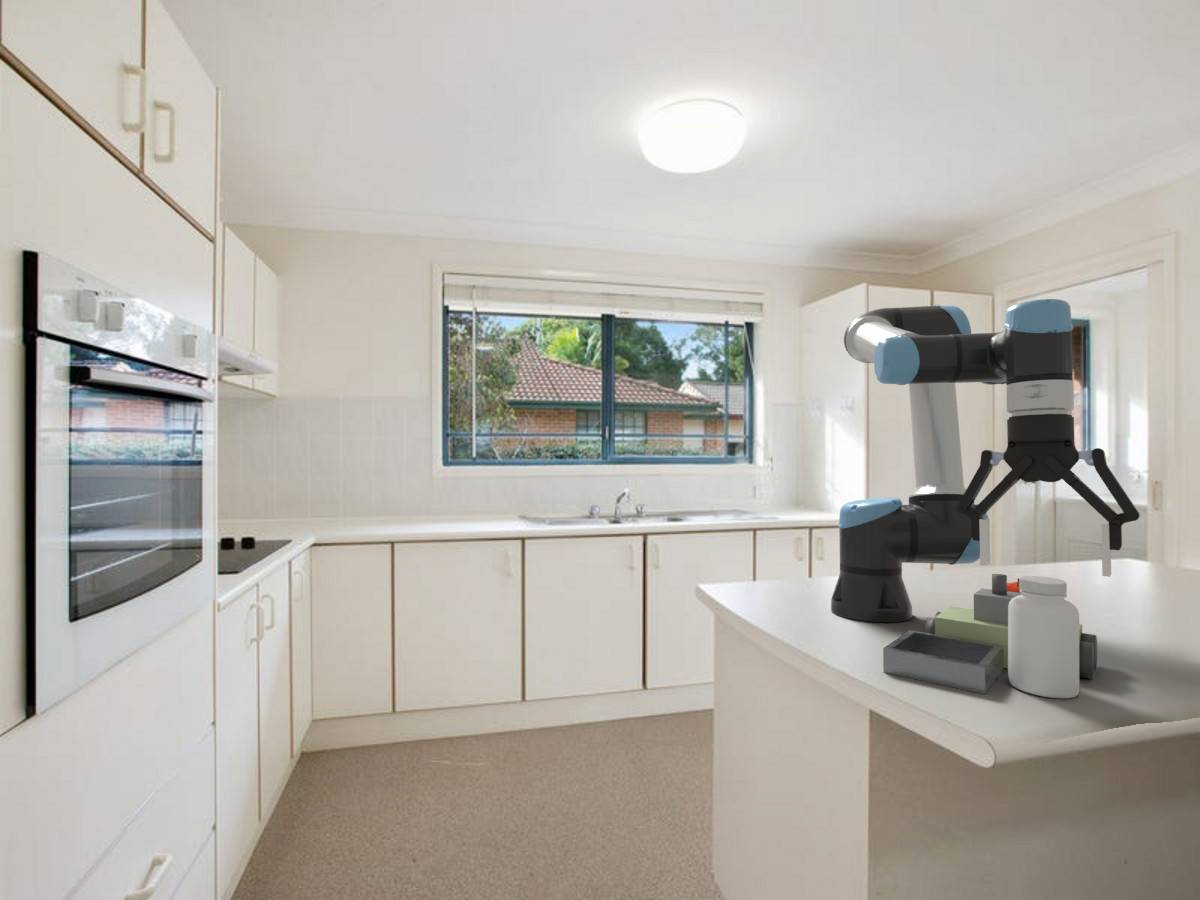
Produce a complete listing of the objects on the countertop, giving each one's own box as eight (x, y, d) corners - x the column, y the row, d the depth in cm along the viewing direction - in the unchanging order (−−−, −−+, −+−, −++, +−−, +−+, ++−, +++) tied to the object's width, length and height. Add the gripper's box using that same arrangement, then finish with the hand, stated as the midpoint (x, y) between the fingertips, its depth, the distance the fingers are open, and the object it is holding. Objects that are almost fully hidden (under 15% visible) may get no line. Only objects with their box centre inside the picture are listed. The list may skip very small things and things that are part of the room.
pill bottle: (1056, 704, 80) (1055, 587, 80) (995, 683, 87) (993, 576, 87) (1093, 694, 83) (1092, 582, 83) (1031, 675, 90) (1030, 572, 90)
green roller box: (923, 652, 101) (922, 572, 101) (941, 637, 109) (940, 563, 109) (1091, 684, 86) (1089, 590, 87) (1097, 664, 95) (1096, 579, 95)
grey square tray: (883, 672, 92) (883, 648, 92) (910, 651, 101) (909, 630, 101) (985, 694, 83) (984, 667, 83) (1003, 669, 93) (1003, 646, 93)
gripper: (932, 417, 91) (934, 563, 90) (1161, 406, 74) (1166, 584, 74) (945, 420, 96) (947, 557, 96) (1161, 410, 80) (1166, 576, 79)
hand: (1042, 569), depth 85 cm, fingers open, 13 cm apart
